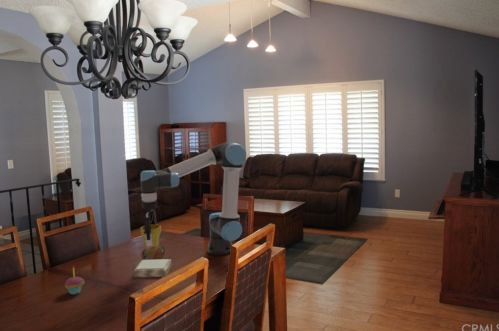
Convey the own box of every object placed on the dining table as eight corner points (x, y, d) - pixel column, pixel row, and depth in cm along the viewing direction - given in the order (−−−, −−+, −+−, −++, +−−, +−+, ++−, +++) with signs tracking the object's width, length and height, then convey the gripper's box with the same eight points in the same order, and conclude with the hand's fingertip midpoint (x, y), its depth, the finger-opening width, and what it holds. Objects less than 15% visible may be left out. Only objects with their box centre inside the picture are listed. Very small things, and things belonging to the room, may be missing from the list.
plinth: (171, 265, 235) (171, 258, 234) (165, 276, 219) (165, 268, 219) (142, 266, 235) (141, 259, 235) (134, 277, 219) (133, 269, 219)
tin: (144, 264, 238) (143, 249, 237) (141, 263, 240) (140, 248, 239) (165, 257, 250) (164, 242, 249) (161, 256, 252) (160, 242, 251)
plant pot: (137, 247, 223) (136, 228, 221) (149, 241, 232) (148, 223, 231) (154, 248, 219) (153, 230, 218) (165, 243, 228) (164, 225, 227)
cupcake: (65, 290, 205) (63, 266, 203) (84, 287, 208) (82, 263, 207) (65, 297, 197) (63, 271, 195) (85, 293, 200) (83, 268, 199)
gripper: (147, 196, 234) (149, 236, 237) (136, 205, 211) (138, 249, 214) (161, 196, 234) (163, 236, 237) (151, 204, 211) (154, 249, 214)
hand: (151, 242), depth 225 cm, fingers closed on plant pot, 10 cm apart
